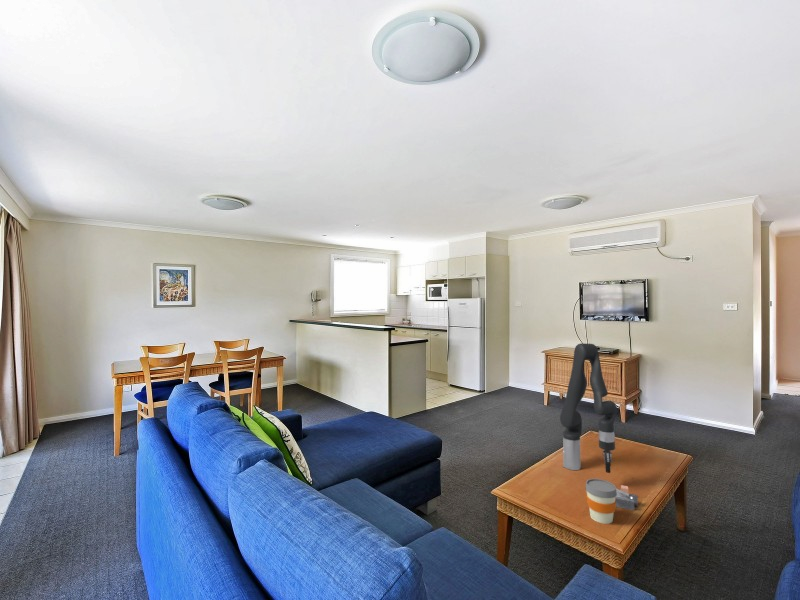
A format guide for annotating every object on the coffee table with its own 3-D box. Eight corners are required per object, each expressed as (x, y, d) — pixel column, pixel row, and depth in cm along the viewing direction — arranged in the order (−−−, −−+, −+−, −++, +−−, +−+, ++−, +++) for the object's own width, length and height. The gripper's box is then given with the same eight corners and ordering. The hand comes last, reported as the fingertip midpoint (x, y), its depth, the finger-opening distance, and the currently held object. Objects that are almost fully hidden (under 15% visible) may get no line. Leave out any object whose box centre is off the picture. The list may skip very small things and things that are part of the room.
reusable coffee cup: (609, 529, 163) (608, 494, 163) (580, 516, 173) (580, 483, 173) (622, 519, 170) (621, 486, 170) (594, 507, 181) (593, 475, 181)
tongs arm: (601, 492, 194) (601, 483, 194) (605, 490, 196) (605, 481, 196) (634, 508, 179) (634, 498, 179) (639, 505, 181) (639, 496, 181)
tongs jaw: (598, 503, 184) (598, 495, 184) (598, 500, 187) (598, 492, 187) (634, 510, 177) (634, 501, 177) (633, 507, 180) (633, 499, 180)
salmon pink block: (621, 497, 189) (621, 487, 189) (621, 494, 191) (620, 485, 191) (628, 499, 187) (628, 488, 187) (628, 496, 190) (627, 486, 190)
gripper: (598, 434, 207) (599, 466, 207) (599, 442, 196) (600, 476, 195) (613, 436, 204) (615, 468, 204) (615, 444, 192) (617, 478, 192)
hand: (608, 472), depth 200 cm, fingers closed
